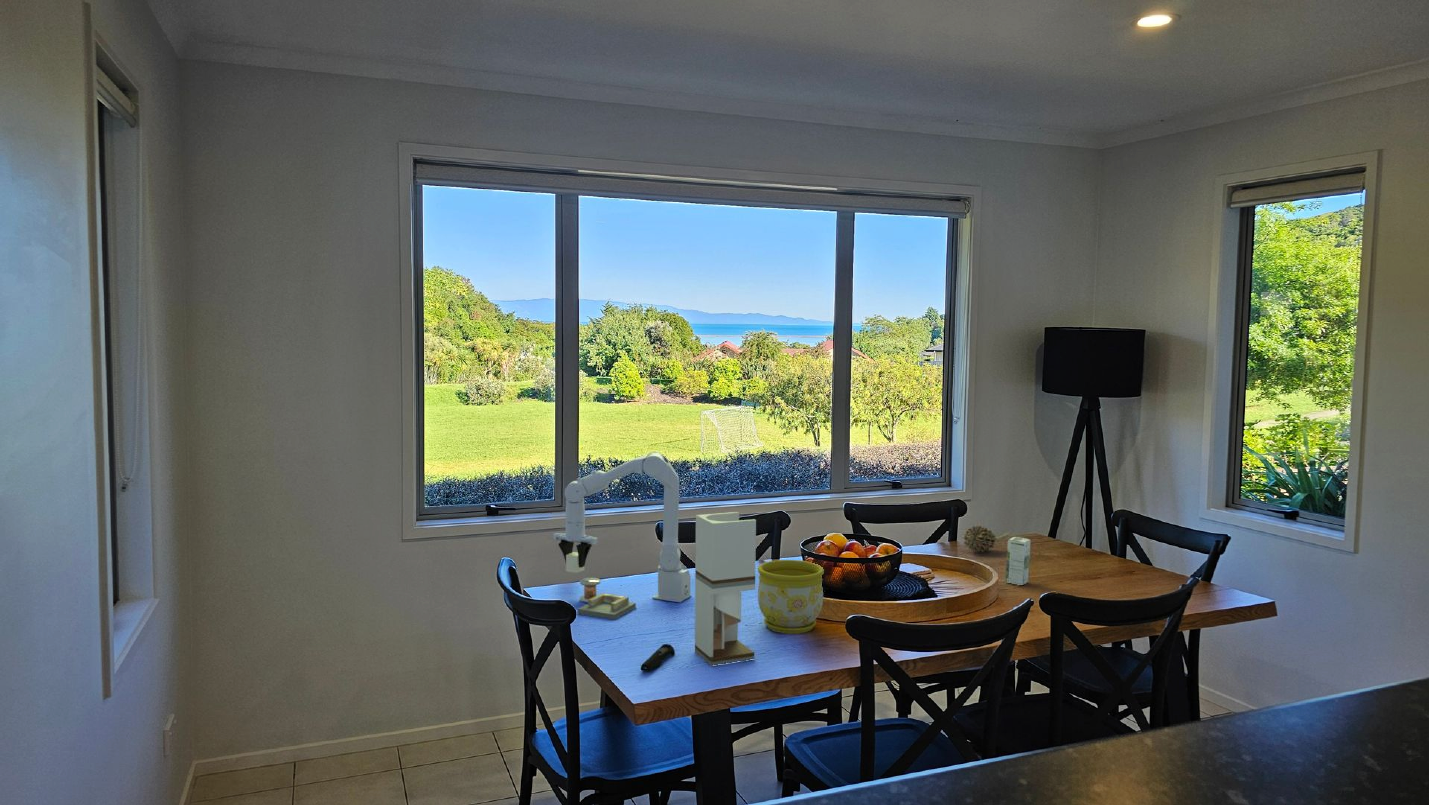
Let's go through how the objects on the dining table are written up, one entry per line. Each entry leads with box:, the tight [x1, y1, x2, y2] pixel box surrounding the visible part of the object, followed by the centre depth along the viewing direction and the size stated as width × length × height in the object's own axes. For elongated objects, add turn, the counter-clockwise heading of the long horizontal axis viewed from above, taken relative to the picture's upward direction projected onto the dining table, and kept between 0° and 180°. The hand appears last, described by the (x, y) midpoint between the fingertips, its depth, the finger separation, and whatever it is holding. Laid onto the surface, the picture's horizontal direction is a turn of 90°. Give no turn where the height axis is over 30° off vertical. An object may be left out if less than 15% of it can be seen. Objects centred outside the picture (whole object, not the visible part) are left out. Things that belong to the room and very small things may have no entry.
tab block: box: [565, 551, 586, 574], centre depth 276 cm, size 4×4×5 cm
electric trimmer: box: [640, 643, 676, 672], centre depth 222 cm, size 4×16×3 cm, turn 160°
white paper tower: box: [694, 511, 757, 667], centre depth 226 cm, size 11×11×35 cm
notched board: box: [577, 592, 637, 621], centre depth 263 cm, size 12×12×4 cm
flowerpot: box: [757, 559, 824, 635], centre depth 250 cm, size 18×18×16 cm
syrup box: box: [1005, 536, 1031, 586], centre depth 295 cm, size 6×6×14 cm
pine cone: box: [962, 525, 1011, 552], centre depth 339 cm, size 22×10×10 cm, turn 123°
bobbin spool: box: [579, 577, 601, 604], centre depth 273 cm, size 6×6×6 cm
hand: (575, 565), depth 276 cm, fingers closed on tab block, 4 cm apart
